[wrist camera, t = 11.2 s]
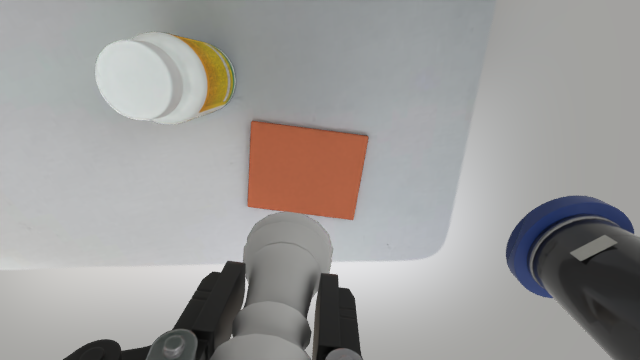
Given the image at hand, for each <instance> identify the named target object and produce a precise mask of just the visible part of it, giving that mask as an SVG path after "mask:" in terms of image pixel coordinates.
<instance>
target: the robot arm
mask: <svg viewBox="0 0 640 360" xmlns="http://www.w3.org/2000/svg"><path fill="white" fill-rule="evenodd" d="M527 268H528V271H529V273H530V275H531V277H532V278H533V279H534V280H535V281H536V282H537V283H538V284H539V285H540V286H541V287H542V288H544V289H545V290H546V291H547V292H548V293H549V294H550V295H551V296H552V297H553V298H554V299H555V300H556V301H557V302H558V303H559V304H560V306H561V307H562V308H563V309H564V310H565V311H567V313H568V314H569V315H570V316H571V317H572V318H573V319H574V320H575V321H576V322H577V323H578V324H579V325H580V326H581V327H582V328H583V329H584V330H585V331H586V332H587V333H588V334H589V335H590V336H591V337H592V338H593V339H594V340H595V342H596V343H597V344H599V345H600V347H601V348H602V349H603V350H604V351H605V352H606V353H607V354H608V355H609V356H610V357H611V358H612V359H613V360H640V237H638V236H636V235H634V234H632V233H631V232H629V231H627V230H625V229H623V228H621V227H620V226H619V225H617V224H616V223H614V222H612V221H611V220H609V219H607V218H605V217H602V216H599V215H594V214H579V215H574V216H570V217H567V218H564V219H561V220H559V221H557V222H555V223H553V224H552V225H550V226H549V227H547V228H546V229H545V230H544V231H542V232H541V233H540V234H539V235H538V237H537V238H536V239H535V240H534V242H533V243H532V245H531V247H530V249H529V252H528V256H527ZM245 273H246V264H245V263H241V262H233V261H227V263H226V264H225V266H224V268H223V270H222V272H221V273H220V272H212V273H210V274H209V275H208V276H206V277H205V278H204V279H203V280H202V281H201V283H200V285H199V287H198V288H197V291H196V292H195V293H194V295H193V296H192V299H191V300H190V301H189V303H188V305H187V306H186V308H185V310H184V311H183V313H182V315H181V316H180V318H179V320H178V322H177V323H176V325H175V326H174V328H173V329H172V330H171V331H168V332H166V333H164V334H162V335H161V336H160V337H158V338H157V339H156V340H155V341H154V343H153V344H152V345H150V346H147V347H143V348H137V349H131V350H125V351H121V347H120V345H119V344H118V343H117V342H115V341H113V340H107V339H105V340H97V341H94V342H91V343H88V344H86V345H84V346H82V347H81V348H79V349H78V350H76V351H75V352H73V353H72V354H70V355H69V356H68V357H66V358H65V359H63V360H210V358H211V357H212V355H213V354H214V352H215V351H216V349H217V348H218V346H220V345H221V344H223V343H225V342H227V341H228V340H230V337H231V334H232V321H233V320H234V318H235V317H236V315H237V314H238V312H239V311H240V309H241V307H242V304H243V299H244V293H245ZM312 360H363V359H362V356H361V351H360V342H359V333H358V323H357V315H356V305H355V298H354V296H353V295H352V293H351V291H350V290H349V289H347V288H339V287H338V275H336V274H328V273H321V275H320V282H319V288H318V295H317V301H316V310H315V322H314V339H313V356H312Z"/></svg>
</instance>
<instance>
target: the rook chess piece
mask: <svg viewBox="0 0 640 360" xmlns="http://www.w3.org/2000/svg"><path fill="white" fill-rule="evenodd" d="M332 253H333V247H332V244H331V240H330V236H329V234H328V233H327V232H326V231H325V229H324V228H323V227H322V226H321V225H320V223H319V222H317V221H315V220H313V219H312V218H310V217H308V216H306V215H304V214H300V213H293V212H286V211H285V212H280V213H276V214H271V215H268V216H266V217H265V218H263V219H262V220H260V221H259V222H257V223H256V224H255V225H254V227H253V228H252V230H251V232H250V233H249V235H248V237H247V243H246V245H245V247H244V254H243V263H245V264H246V279H247V281H248V284H249V286H248V292H247V298H246V303H245V306H244V308H243V309H242V310H240V311H239V312H238V314H237V315H236V317H235V318H234V320H233V321H232V334H233V338H232V339H230V340H228V341H227V342H225V343H223V344H221V345H220V346H218V348H217V349H216V351H215V352H214V354H213V355H212V357H211V358H210V360H311V358H310V357H309V356H308V354H307V353H306V352H305V351H304V350H305V349H306V347H307V346H308V345H309V343H310V337H311V330H310V327H309V324H308V321H307V313H308V310H309V306H310V302H311V299H312V297H313V296H314V295H315V293H316V292H317V291H318V288H319V282H320V275H321V273H328V274H329V271H330V267H331V262H332V259H331V258H332Z"/></svg>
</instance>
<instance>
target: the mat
mask: <svg viewBox="0 0 640 360" xmlns="http://www.w3.org/2000/svg"><path fill="white" fill-rule="evenodd" d="M368 138H369V137H368V136H365V135H358V134H350V133H342V132H335V131H327V130H319V129H312V128H304V127H296V126H289V125H281V124H273V123H265V122H258V121H252V122H251V138H250V162H249V185H248V207H254V208H262V209H270V210H278V211H286V212H294V213H302V214H310V215H318V216H325V217H333V218H341V219H349V220H353V219H354V213H355V208H356V202H357V197H358V192H359V186H360V181H361V175H362V170H363V165H364V159H365V154H366V148H367V143H368Z"/></svg>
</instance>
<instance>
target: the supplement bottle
mask: <svg viewBox="0 0 640 360" xmlns="http://www.w3.org/2000/svg"><path fill="white" fill-rule="evenodd" d="M95 78H96V83H97V86H98V88H99V91H100V93H101V94H102V96H103V98H104V99H105V100H106V102H107V103H108V104H109V105H110V106H111V107H112V108H113V109H114V110H115V111H116V112H118V113H120V114H121V115H123V116H125V117H127V118H130V119H134V120H142V121H145V120H150V121H152V122H155V123H159V124H166V125H173V124H179V123H183V122H186V121H189V120H192V119H194V118H197V117H200V116H202V115H205V114H209V113H212V112H214V111H217V110H219V109H221V108H223V107H224V106H225V105H226V104H227V103H228V102H229V101H230V100H231V98H232V96H233V93H234V90H235V84H236V77H235V72H234V68H233V66H232V64H231V62H230V60H229V59H228V57H227V56H226V55H225V54H224V53H223V52H222V51H221V50H220V49H218V48H217V47H215V46H213V45H211V44H208V43H205V42H201V41H197V40H192V39H188V38H184V37H179V36H175V35H172V34H168V33H162V32H146V33H142V34H139V35H137V36H135V37H133V38H131V39H130V40H120V41H115V42H112V43H110V44H109V45H107V46H106V47H105V48H104V49H103V50H102V51H101V52H100V54H99V56H98V58H97V61H96V65H95Z"/></svg>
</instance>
